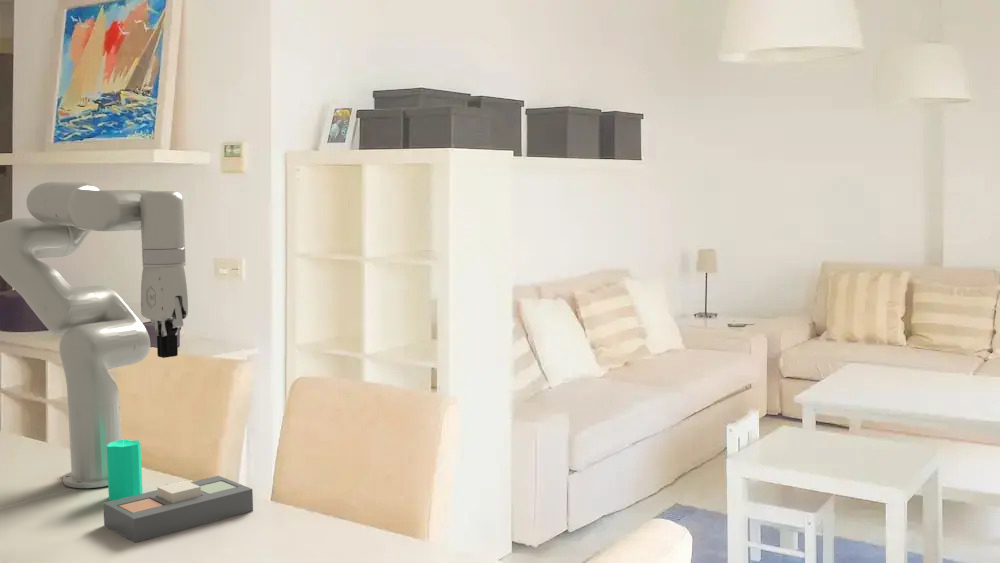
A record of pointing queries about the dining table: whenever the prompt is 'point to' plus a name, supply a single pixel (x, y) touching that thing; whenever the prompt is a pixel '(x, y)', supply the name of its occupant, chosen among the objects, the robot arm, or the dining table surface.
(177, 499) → the key cream
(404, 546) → the dining table surface
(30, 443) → the dining table surface
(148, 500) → the key terracotta
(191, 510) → the keypad
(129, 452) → the candle
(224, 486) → the key sage
